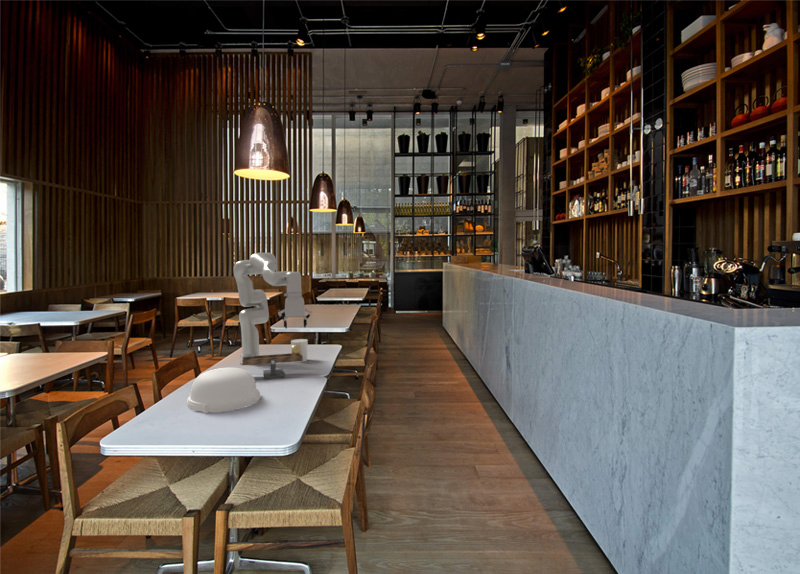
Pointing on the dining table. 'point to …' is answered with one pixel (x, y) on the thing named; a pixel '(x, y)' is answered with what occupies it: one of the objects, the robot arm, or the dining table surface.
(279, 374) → the beam stand
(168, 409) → the dining table surface
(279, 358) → the balance beam
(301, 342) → the candle holder
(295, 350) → the brass weight
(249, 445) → the dining table surface
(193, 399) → the dome cover
